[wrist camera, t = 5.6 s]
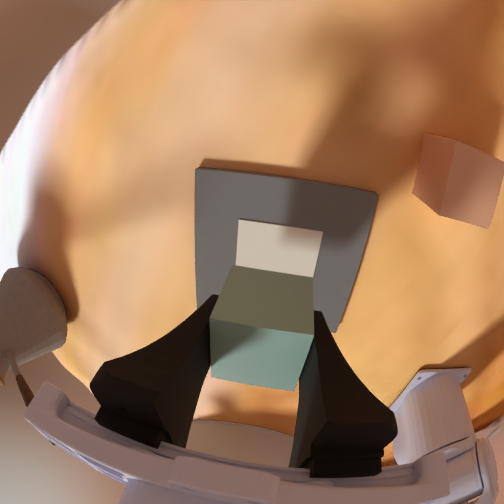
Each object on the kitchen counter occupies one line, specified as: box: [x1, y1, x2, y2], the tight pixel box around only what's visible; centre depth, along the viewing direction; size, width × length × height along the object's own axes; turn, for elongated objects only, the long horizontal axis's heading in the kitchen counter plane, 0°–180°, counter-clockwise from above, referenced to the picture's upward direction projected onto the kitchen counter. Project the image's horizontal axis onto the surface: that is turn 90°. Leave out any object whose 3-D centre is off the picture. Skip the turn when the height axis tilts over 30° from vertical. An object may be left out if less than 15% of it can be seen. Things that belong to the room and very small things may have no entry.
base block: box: [210, 265, 314, 391], centre depth 13 cm, size 4×4×4 cm
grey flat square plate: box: [195, 167, 378, 333], centre depth 18 cm, size 11×11×1 cm
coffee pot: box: [0, 267, 67, 445], centre depth 19 cm, size 21×12×15 cm, turn 93°
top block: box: [412, 133, 504, 229], centre depth 12 cm, size 4×4×4 cm
